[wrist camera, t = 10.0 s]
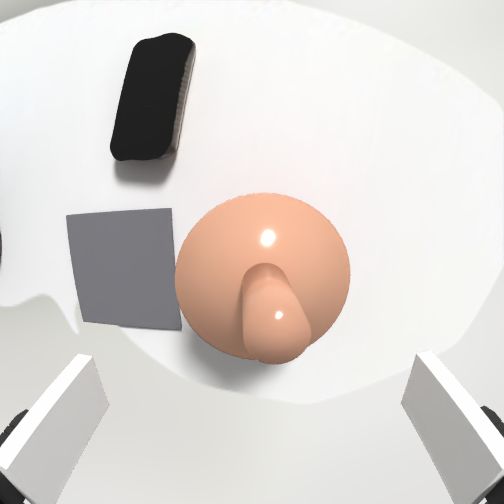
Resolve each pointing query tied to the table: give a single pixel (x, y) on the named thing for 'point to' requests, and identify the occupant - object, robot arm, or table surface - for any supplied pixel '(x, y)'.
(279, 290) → the lid
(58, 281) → the table surface
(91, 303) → the mat
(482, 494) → the robot arm
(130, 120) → the black sponge
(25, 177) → the table surface
